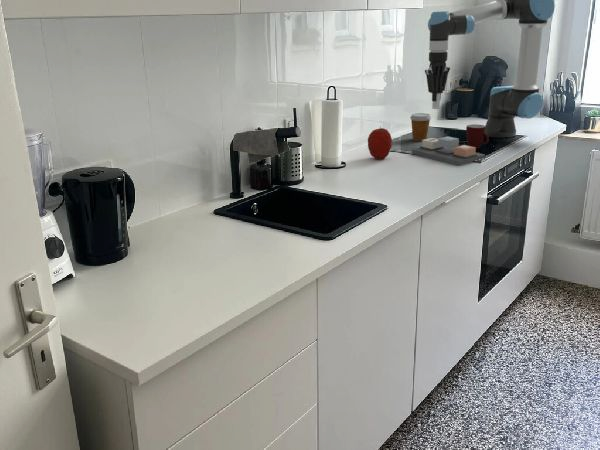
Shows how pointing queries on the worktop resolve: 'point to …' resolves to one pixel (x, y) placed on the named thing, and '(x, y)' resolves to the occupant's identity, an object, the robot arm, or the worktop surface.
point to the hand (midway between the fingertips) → (435, 108)
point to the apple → (379, 143)
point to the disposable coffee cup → (420, 126)
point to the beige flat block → (464, 150)
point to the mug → (476, 135)
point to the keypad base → (446, 155)
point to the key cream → (430, 143)
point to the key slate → (448, 142)
